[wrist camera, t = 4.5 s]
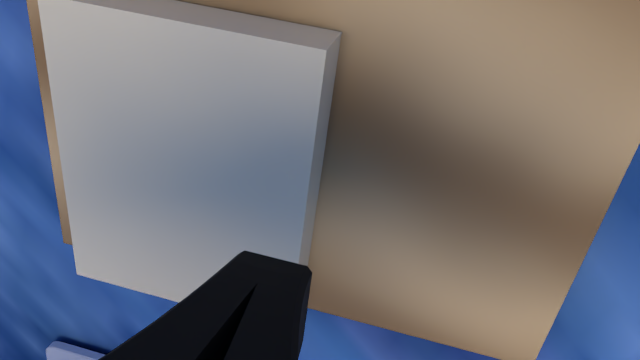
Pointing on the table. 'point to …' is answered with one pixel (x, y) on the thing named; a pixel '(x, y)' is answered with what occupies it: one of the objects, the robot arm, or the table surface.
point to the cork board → (457, 158)
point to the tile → (185, 136)
